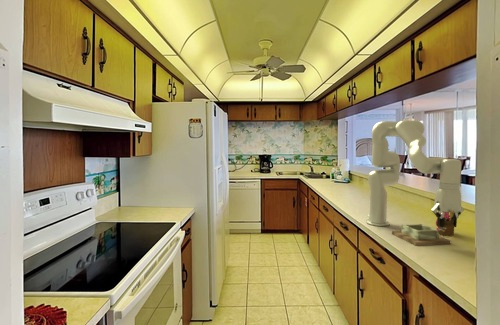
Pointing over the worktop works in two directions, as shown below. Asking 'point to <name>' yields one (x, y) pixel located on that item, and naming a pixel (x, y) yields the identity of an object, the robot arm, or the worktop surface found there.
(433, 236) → the collar stand
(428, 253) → the worktop surface
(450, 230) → the utensil holder
